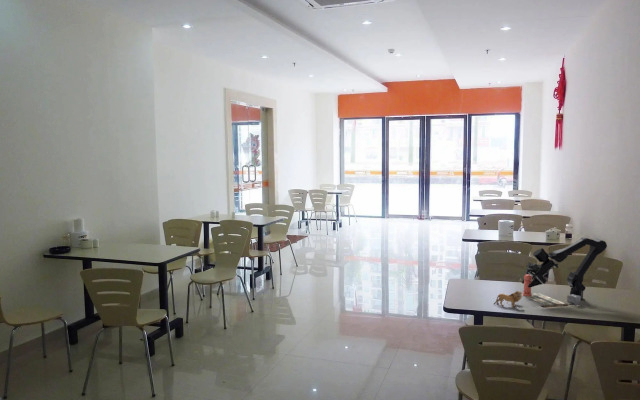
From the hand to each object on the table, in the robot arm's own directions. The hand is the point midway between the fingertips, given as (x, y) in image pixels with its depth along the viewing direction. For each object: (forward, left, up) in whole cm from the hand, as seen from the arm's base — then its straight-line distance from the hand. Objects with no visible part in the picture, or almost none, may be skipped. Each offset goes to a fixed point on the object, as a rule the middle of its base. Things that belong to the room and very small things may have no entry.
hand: (525, 285), depth 287 cm
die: (-19, +18, -8) cm, 27 cm away
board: (-5, +9, -8) cm, 13 cm away
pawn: (-1, 0, -6) cm, 6 cm away
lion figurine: (+21, +13, -8) cm, 26 cm away
